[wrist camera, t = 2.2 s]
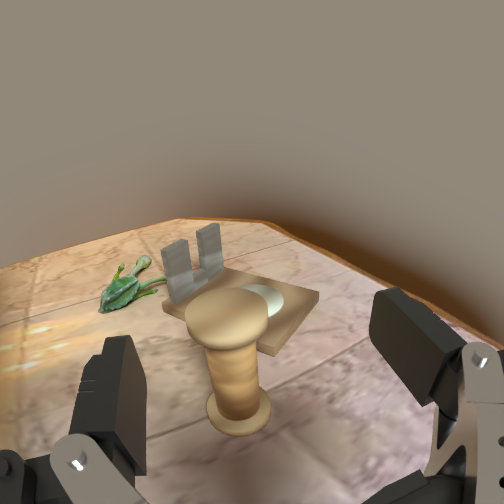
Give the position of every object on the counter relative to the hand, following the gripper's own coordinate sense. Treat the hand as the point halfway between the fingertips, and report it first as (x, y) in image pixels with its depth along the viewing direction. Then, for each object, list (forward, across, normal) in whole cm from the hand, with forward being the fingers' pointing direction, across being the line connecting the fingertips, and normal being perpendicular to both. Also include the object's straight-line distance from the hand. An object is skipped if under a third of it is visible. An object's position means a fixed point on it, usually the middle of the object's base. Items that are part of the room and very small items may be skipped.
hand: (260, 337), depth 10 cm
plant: (+42, +11, +19) cm, 47 cm away
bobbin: (+12, 0, +19) cm, 22 cm away
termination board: (+29, -3, +19) cm, 35 cm away
